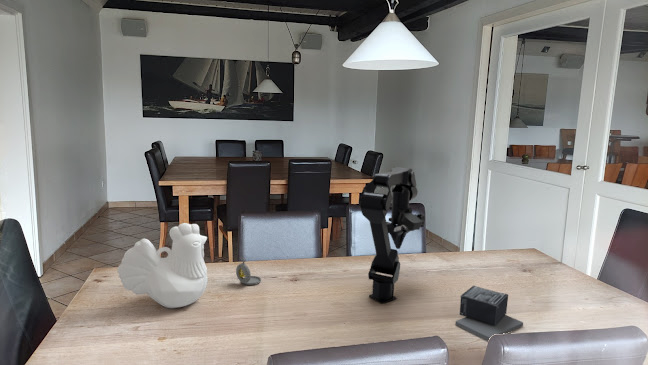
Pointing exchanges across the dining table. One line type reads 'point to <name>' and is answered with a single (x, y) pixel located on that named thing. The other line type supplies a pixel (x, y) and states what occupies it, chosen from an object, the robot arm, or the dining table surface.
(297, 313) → the dining table surface
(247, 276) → the pocket watch
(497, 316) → the small box
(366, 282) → the dining table surface
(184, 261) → the decorative rooster
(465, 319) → the mat
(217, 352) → the dining table surface
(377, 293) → the robot arm
